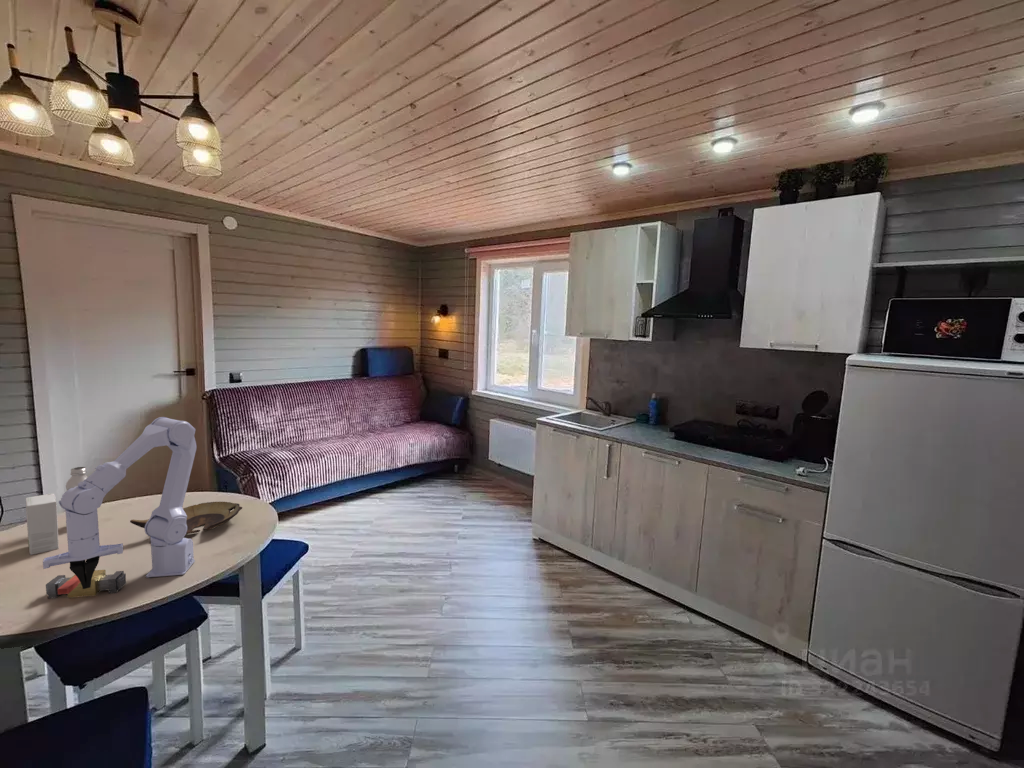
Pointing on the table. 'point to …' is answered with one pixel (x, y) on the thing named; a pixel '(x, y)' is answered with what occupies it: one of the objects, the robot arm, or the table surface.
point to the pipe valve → (97, 584)
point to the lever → (69, 586)
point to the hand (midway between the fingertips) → (86, 586)
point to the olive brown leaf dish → (204, 515)
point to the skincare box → (42, 523)
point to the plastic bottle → (76, 477)
